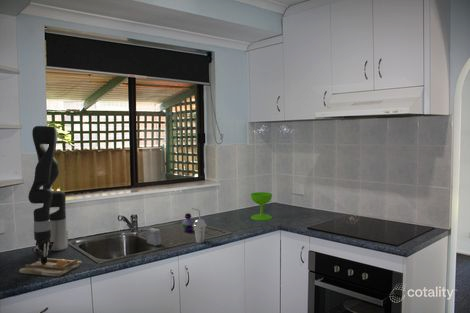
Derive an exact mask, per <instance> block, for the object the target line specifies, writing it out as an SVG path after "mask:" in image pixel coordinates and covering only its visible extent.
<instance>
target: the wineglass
mask: <svg viewBox="0 0 470 313" xmlns="http://www.w3.org/2000/svg"><path fill="white" fill-rule="evenodd" d="M272 197H273V193H271V192H263V191H260V192H259V191H258V192H257V191H256V192H252V193H250V198H251V200H252V201H253V202H254V203H255V204H257V205H259V213H258V214H253V215H251V216H250V218H251V220H255V221H267V220H272V219H273V216H271V215H270V214H264V213H263V212H264V207H263V206H264V205H266V204H268V203H269V202H270V201H271V200H272Z"/></svg>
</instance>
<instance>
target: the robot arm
mask: <svg viewBox="0 0 470 313" xmlns="http://www.w3.org/2000/svg"><path fill="white" fill-rule="evenodd" d="M31 134H32V141H33V145H34V148H35V151H36V155H37V161H38V162H37V163H36V166H35V170H34V176H33V177H34V178H33V182H32V185H31V187H30V190H29V192H28V196H27V197H28V201H29V203H30V204H34V205H35V204H43V205H42V206H41V207H37V208H35V209H34V210H33V236H34V237H33V238H34V240H35V247H34V248H32V252H33V253H34V255H35V256H36V257H40V258H41V263H42V264H46V263H47V258H48V255H49V254H50V253H51V252H52V251H53V252H54V251H55V252H56V251H63V250H65V249H67V248H68V247H69V237H68V236H69V233H68V232H69V231H68V230H67V216H66V214H67V213H66V202H67V201H66V192H65V191H64V190H51V188H52V186H53V185H54V183H55V181H56V180H57V178H58V176H60V175H59V174H60V170H59V164H58V160H56V158H55V156H54V155H55V152H56V146H57V142H58V130H57V127H56V126H51V125H50V126H49V125H35V126H34V127H33V128H32V132H31ZM45 145H48V146H47V148H46V146H45ZM41 187H42V188H41ZM51 208H58V209H57V210H56V211H54V212H51V213H50V210H51Z"/></svg>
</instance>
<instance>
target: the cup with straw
mask: <svg viewBox="0 0 470 313" xmlns="http://www.w3.org/2000/svg"><path fill="white" fill-rule="evenodd" d="M191 210H194V211H197V212H198V218H197V219H195V220H194V221H195V222H194V224H193V230H194V236H195V242H196V243H198V244H199V243H204V242H205V241H204V240H205V231H206V227H207V226H208V225H207V223H206V221H205V220H204V219H203V218H201V210H200V209H197V208H194V207H191Z"/></svg>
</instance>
